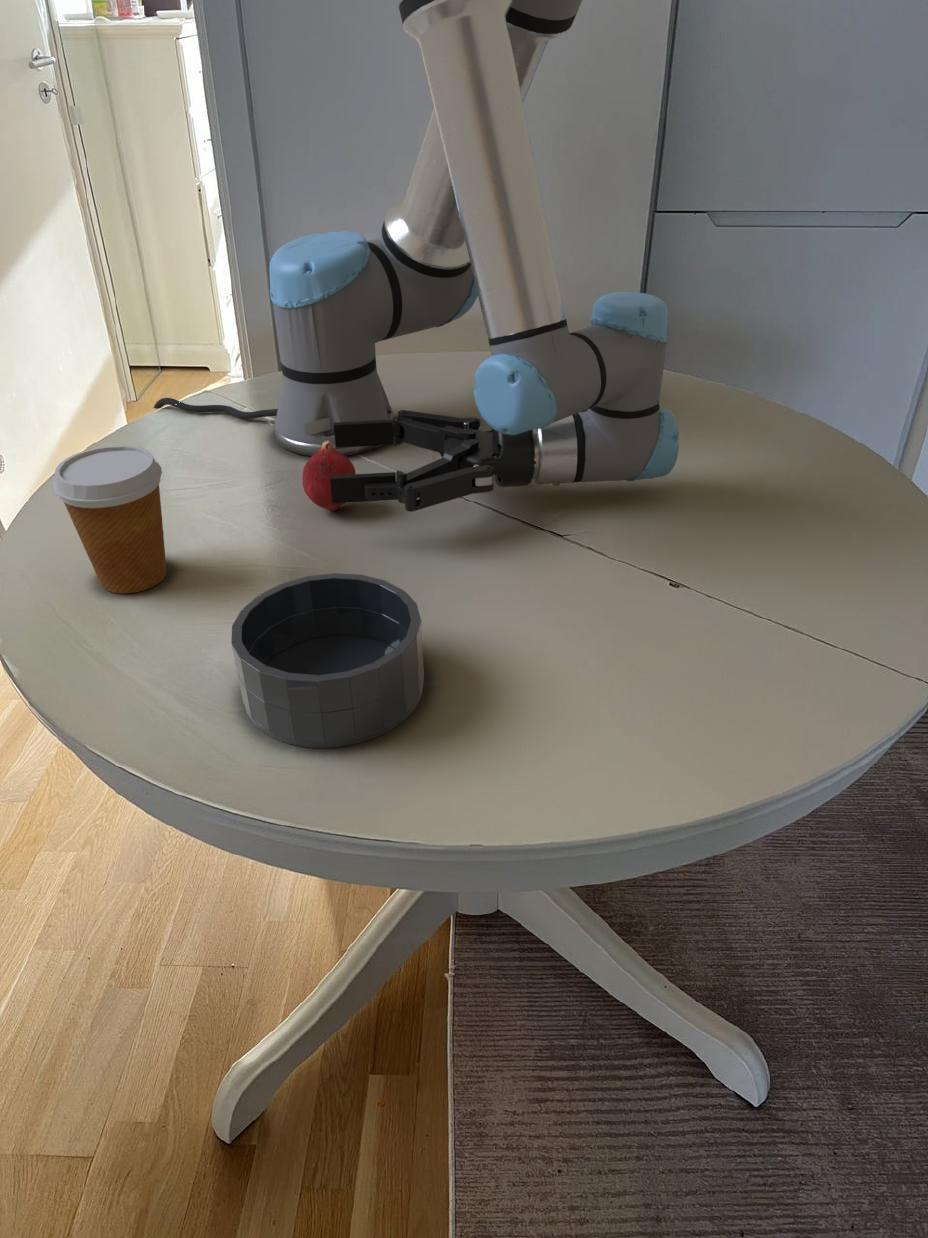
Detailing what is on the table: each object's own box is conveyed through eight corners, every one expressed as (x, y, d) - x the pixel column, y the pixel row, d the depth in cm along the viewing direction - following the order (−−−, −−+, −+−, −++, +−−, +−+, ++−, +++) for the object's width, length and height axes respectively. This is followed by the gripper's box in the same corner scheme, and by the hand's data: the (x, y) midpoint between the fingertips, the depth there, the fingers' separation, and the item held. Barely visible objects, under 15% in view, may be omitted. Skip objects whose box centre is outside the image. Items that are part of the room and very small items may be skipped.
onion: (350, 525, 98) (343, 456, 94) (298, 520, 99) (289, 452, 95) (365, 500, 103) (359, 433, 98) (316, 496, 104) (308, 429, 99)
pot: (208, 691, 75) (193, 626, 72) (344, 616, 84) (337, 555, 80) (322, 776, 67) (312, 708, 63) (460, 683, 76) (458, 618, 72)
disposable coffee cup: (87, 613, 85) (52, 496, 78) (79, 564, 92) (46, 454, 85) (191, 589, 88) (166, 475, 81) (175, 544, 95) (151, 436, 88)
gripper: (549, 537, 91) (333, 550, 89) (514, 436, 111) (338, 445, 110) (552, 468, 87) (325, 480, 85) (515, 376, 107) (332, 384, 106)
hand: (332, 460), depth 98 cm, fingers open, 13 cm apart
